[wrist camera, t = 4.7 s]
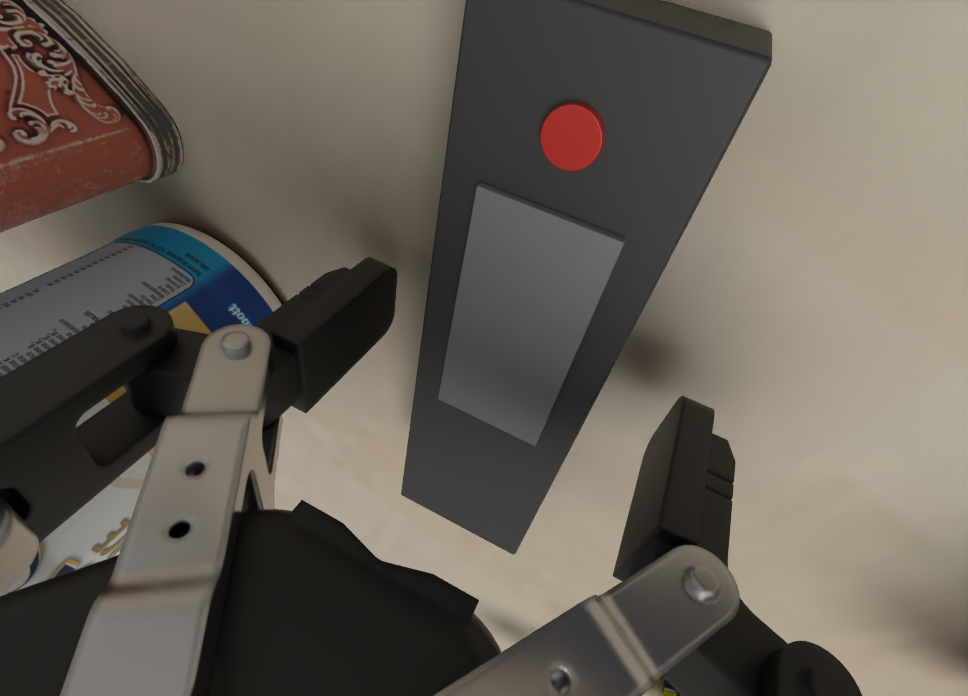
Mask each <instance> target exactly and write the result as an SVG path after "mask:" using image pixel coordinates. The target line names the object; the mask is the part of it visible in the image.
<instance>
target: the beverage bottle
mask: <svg viewBox="0 0 968 696" xmlns="http://www.w3.org/2000/svg"><path fill="white" fill-rule="evenodd" d="M136 305H151V306H156V307H160V308H162V309H164V310H166V311H167V312H168V313H169V314H170V315H171V317H172V320H173V323H174V326H175V328H178V329H183V330H189V331H194V332H200V333H205V334H211V333H212V332H214V331H216V330H218V329H220V328H222V327H226V326H229V325H236V324H245V325H252V326H254V325H256V324H257V323H259V322H260V321H261V320H263V319H264V318H266V317H267V316H268V315H270V314H271V313H272V312H274V311H275V310H276V309H278V308H279V307H280V306H282V304H281V303H280V301H279V300H278V298H277V297H276V295H275V294H274V293H273V291H272V290H271V289H270V288H269V286H268V285H267V284H266V283H265V281H264V280H263V279H262V278H261V277H260V276H259V275H258V274H257V273H256V272H255V271H254V270H253V269H252V268H251V267H250V266H249V265H248V264H247V263H246V262H245V261H244V260H243V259H242V258H240V257H239V256H238V255H237V254H236V253H234V252H233V251H232V250H230V249H229V248H228V247H226V246H225V245H223V244H222V243H220V242H219V241H217V240H215V239H214V238H212V237H210V236H208V235H206V234H204V233H202V232H200V231H198V230H195V229H193V228H190V227H187V226H183V225H179V224H173V223H154V224H149V225H146V226H143V227H141V228H138V229H136V230H134V231H132V232H130V233H127V234H125V235H123V236H121V237H119V238H118V239H116V240H114V241H113V242H111V243H110V244H107V245H105V246H103V247H101V248H99V249H96V250H94V251H92V252H90V253H88V254H86V255H84V256H82V257H79V258H77V259H75V260H73V261H71V262H68V263H66V264H64V265H62V266H60V267H57V268H55V269H53V270H51V271H49V272H46V273H44V274H42V275H40V276H38V277H35V278H33V279H31V280H29V281H26V282H24V283H22V284H20V285H18V286H15V287H13V288H11V289H9V290H6V291H4V292H2V293H0V377H2V376H4V375H5V374H7V373H9V372H11V371H12V370H14V369H16V368H18V367H19V366H21V365H23V364H24V363H26V362H28V361H30V360H31V359H33V358H35V357H37V356H38V355H40V354H42V353H44V352H45V351H47V350H49V349H50V348H52V347H54V346H56V345H57V344H59V343H61V342H63V341H64V340H66V339H68V338H69V337H71V336H73V335H75V334H76V333H78V332H80V331H82V330H83V329H85V328H87V327H89V326H90V325H92V324H94V323H95V322H97V321H99V320H101V319H102V318H104V317H106V316H108V315H109V314H111V313H113V312H115V311H117V310H120V309H122V308H126V307H130V306H136ZM125 392H126V390H125V388H124V386H122V387H121V388H119V389H118V390H116V391H115V392H113V393H112V394H111V395H109V396H108V397H106V398H105V399H103V400H102V401H101V402H99V403H98V404H96V405H95V406H93V407H92V408H91V409H89V410H88V411H87V412H85V413H84V414H83V415H82V416H81V418H80V419H79V421H78V422H77V425H76V427H78V426H79V425H80V424H82V423H83V422H85V421H86V420H87V419H89V418H90V417H92V416H93V415H94V414H96V413H97V412H99V411H100V410H101V409H103V408H104V407H106V406H107V405H108V404H110V403H111V402H113V401H114V400H115V399H117V398H118V397H120V396H121V395H122V394H124V393H125ZM154 449H155V447H153V448H152V449H151V450H150V451H149V452H148V453H146V454H145V455H144V456H143V457H142V458H140V459H139V460H138V461H137V462H136V463H134V464H133V465H132V466H131V467H130V468H128V469H127V470H126V471H125V472H124V473H122V474H121V475H120V476H119V477H118V478H116V479H115V480H114V481H113V482H112V483H110V484H109V485H108V486H107V487H106V488H105V489H103V490H102V491H101V492H100V493H99V494H97V495H96V496H95V497H94V498H93V499H91V500H90V501H89V502H88V503H87V504H85V505H84V506H83V507H82V508H81V509H79V510H78V511H77V512H76V513H75V514H73V515H72V516H71V517H70V518H69V519H68V520H66V521H65V522H64V523H63V524H62V525H60V526H59V527H58V528H57V529H56V530H54V531H53V532H52V533H51V534H50V535H48V536H47V537H46V538H45V539H44V540H42V541H41V542H40V543H39V547H38V551H37V554H36V557H35V559H34V560H33V562H32V564H31V565H30V566H29V567H30V575H29V577H28V579H27V580H26V582H25V583H24V584H23V585H21V586H20V587H19V588H17V589H16V590H14V591H17V590H19V589H22V588H25V587H28V586H31V585H34V584H37V583H40V582H42V581H45V580H48V579H51V578H54V577H57V576H60V575H62V574H65V573H68V572H71V571H74V570H77V569H80V568H83V567H85V566H88V565H91V564H94V563H97V562H100V561H103V560H106V559H108V558H111V557H114V556H115V555H116V554H117V553H118V552H119V551H120V550H121V547H122V544H123V541H124V538H125V535H126V532H127V529H128V526H129V523H130V520H131V517H132V514H133V511H134V508H135V505H136V502H137V499H138V496H139V494H140V491H141V488H142V485H143V482H144V479H145V476H146V473H147V470H148V467H149V464H150V461H151V458H152V455H153V452H154ZM14 591H12V592H14ZM9 593H11V592H9ZM7 594H8V593H7Z"/></svg>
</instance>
